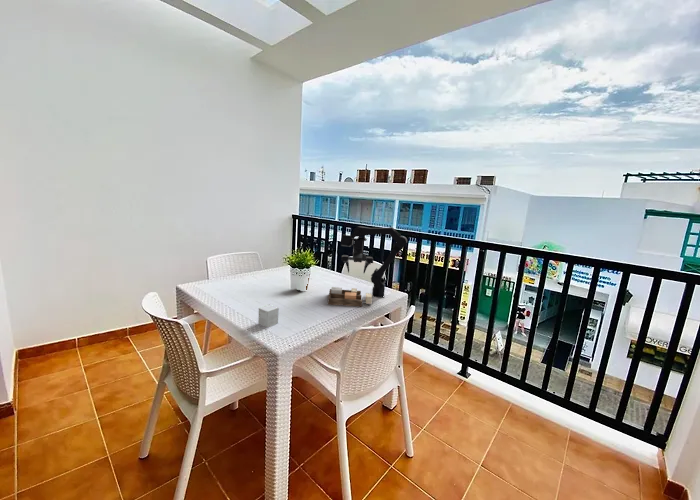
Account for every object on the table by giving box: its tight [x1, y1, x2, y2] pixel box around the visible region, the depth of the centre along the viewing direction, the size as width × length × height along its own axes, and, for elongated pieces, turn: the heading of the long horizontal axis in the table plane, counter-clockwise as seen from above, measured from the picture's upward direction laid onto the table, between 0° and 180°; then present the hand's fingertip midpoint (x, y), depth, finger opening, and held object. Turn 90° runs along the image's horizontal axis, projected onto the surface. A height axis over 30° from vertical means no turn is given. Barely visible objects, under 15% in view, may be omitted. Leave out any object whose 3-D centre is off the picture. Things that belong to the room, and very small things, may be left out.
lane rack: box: [327, 288, 363, 307], centre depth 153 cm, size 18×16×3 cm
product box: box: [257, 303, 280, 329], centre depth 118 cm, size 6×6×7 cm
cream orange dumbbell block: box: [345, 292, 373, 305], centre depth 149 cm, size 14×6×4 cm, turn 91°
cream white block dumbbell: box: [330, 286, 358, 295], centre depth 156 cm, size 14×6×4 cm, turn 91°
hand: (356, 273), depth 166 cm, fingers open, 9 cm apart
